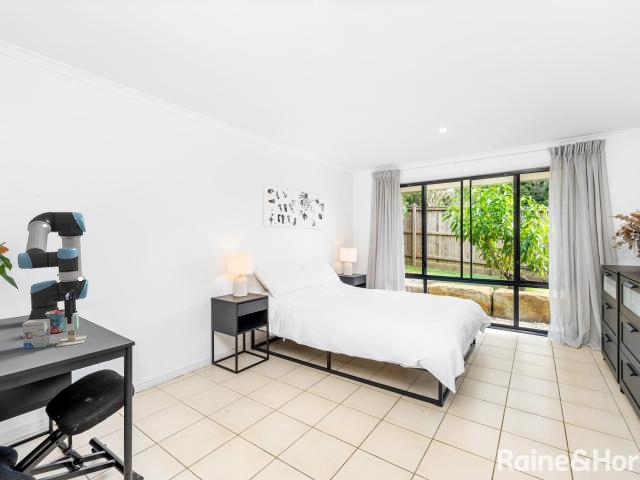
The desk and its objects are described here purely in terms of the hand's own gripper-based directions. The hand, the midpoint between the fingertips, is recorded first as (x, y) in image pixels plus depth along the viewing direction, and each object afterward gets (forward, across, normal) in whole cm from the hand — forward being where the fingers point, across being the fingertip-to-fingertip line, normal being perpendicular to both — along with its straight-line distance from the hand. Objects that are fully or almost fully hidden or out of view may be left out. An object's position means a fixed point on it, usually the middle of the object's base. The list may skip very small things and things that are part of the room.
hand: (71, 328), depth 150 cm
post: (+6, 0, 0) cm, 6 cm away
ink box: (+6, -1, -13) cm, 14 cm away
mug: (+6, -23, -8) cm, 25 cm away
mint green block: (0, 0, 0) cm, 0 cm away
